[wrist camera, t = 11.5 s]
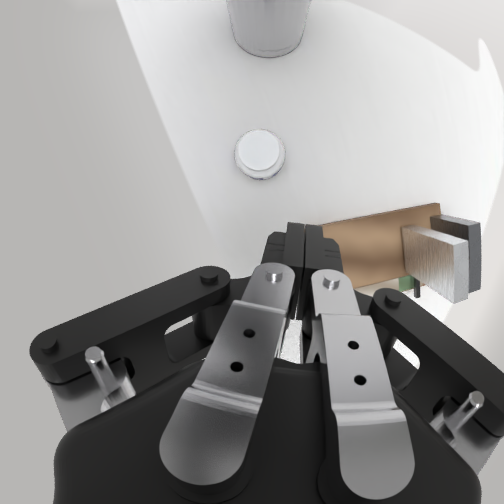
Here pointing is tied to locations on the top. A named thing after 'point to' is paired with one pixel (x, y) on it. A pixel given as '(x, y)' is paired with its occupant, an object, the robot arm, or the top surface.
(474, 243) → the grey wood-grain slab
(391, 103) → the top surface
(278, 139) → the pill bottle
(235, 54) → the top surface
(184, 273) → the robot arm
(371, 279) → the brown wooden base board
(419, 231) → the brushed steel sheet
